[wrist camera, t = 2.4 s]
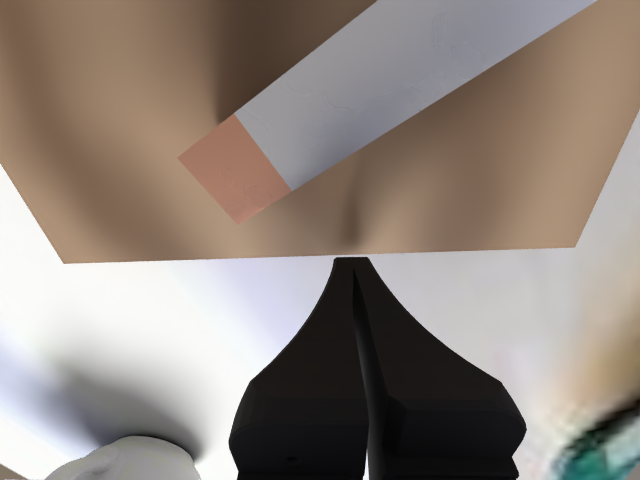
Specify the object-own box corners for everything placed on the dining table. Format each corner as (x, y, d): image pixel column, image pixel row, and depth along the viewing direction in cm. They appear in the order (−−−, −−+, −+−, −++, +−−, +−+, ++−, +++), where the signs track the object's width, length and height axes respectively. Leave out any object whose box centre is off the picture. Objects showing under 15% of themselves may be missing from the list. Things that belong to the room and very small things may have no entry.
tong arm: (598, -168, 7) (761, -302, 4) (612, -47, 8) (751, -96, 5) (214, 132, 10) (176, 157, 8) (258, 187, 11) (237, 225, 9)
